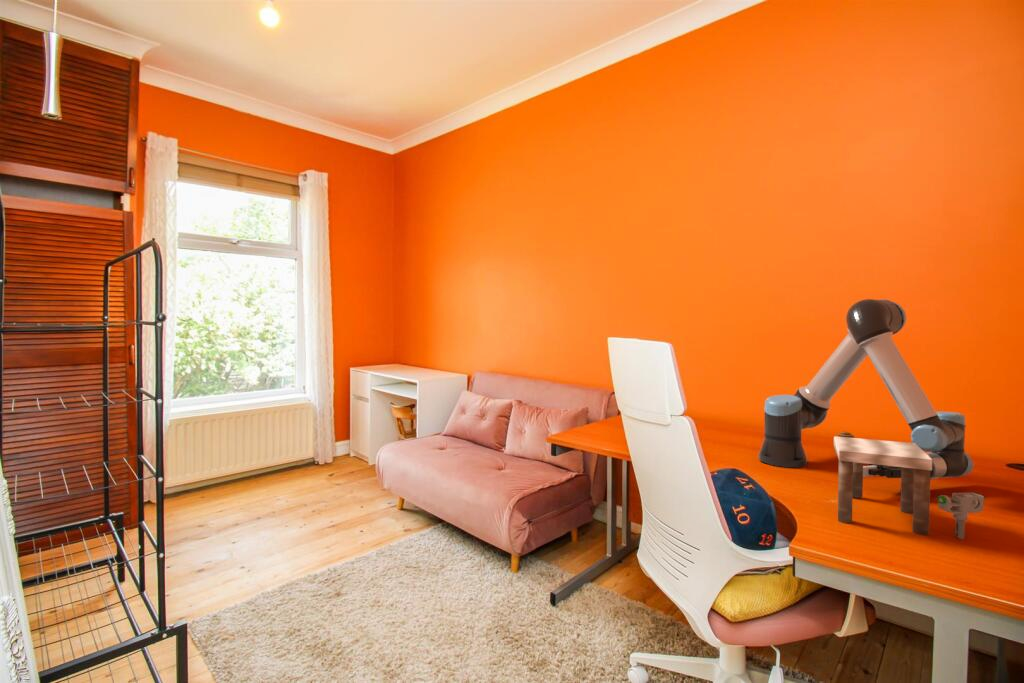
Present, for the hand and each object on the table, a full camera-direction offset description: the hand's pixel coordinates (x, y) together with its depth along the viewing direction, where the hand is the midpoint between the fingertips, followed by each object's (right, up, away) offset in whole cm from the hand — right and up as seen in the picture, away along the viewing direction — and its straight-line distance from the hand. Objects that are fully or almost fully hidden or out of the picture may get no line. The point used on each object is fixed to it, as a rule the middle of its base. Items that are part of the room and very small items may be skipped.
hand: (857, 472), depth 144 cm
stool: (-5, -7, -15) cm, 18 cm away
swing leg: (-1, -7, -5) cm, 8 cm away
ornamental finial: (+29, -5, +48) cm, 56 cm away
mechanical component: (+4, -8, -28) cm, 30 cm away
